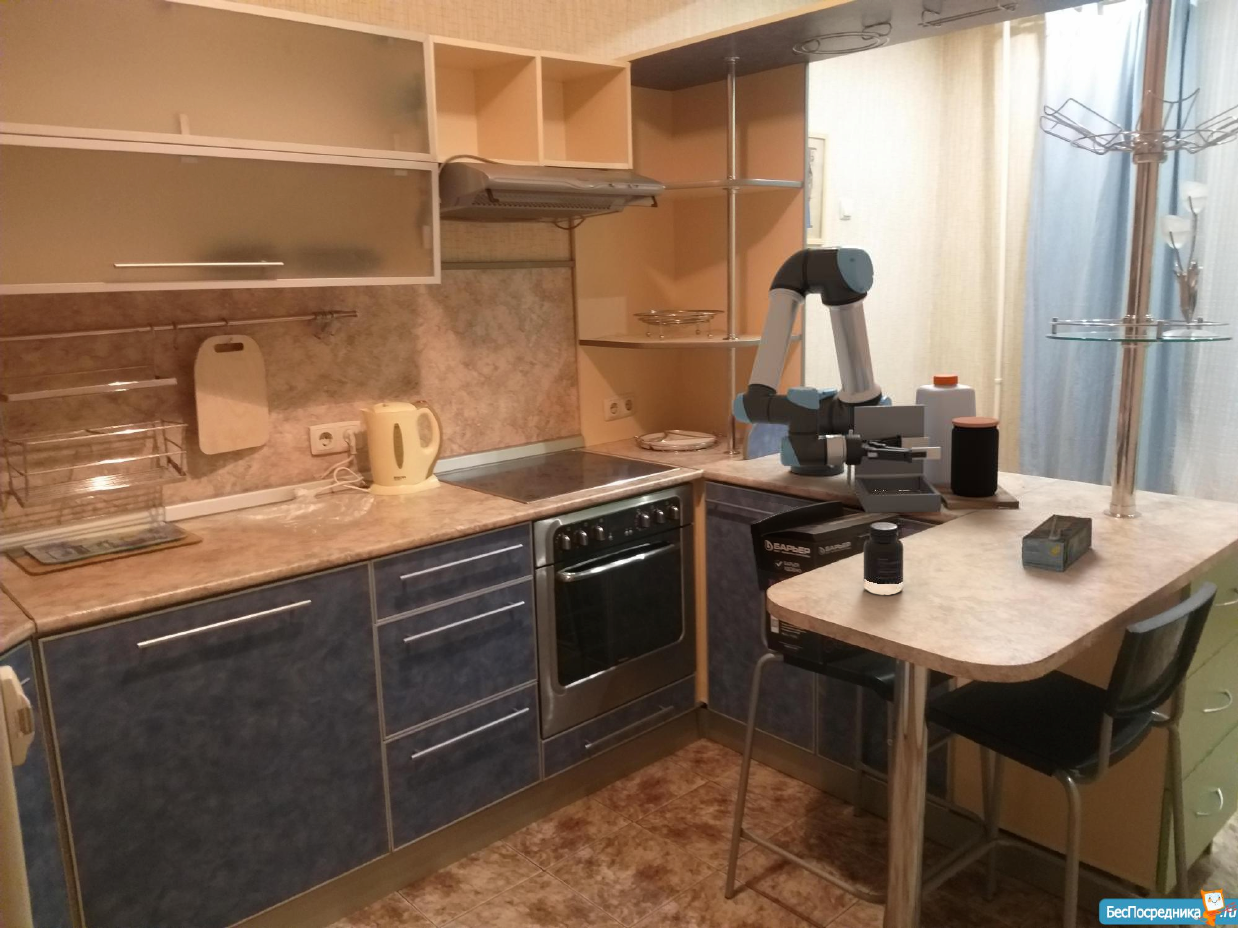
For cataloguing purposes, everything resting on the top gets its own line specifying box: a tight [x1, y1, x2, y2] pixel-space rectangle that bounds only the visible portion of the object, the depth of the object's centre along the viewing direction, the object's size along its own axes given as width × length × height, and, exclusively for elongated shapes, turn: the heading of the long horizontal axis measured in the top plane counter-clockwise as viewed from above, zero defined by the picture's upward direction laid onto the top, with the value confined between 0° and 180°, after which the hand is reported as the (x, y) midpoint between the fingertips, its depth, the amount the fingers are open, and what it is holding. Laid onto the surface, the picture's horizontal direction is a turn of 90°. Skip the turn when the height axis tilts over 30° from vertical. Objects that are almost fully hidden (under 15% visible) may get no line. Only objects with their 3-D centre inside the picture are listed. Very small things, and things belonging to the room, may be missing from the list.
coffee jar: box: [950, 416, 1000, 498], centre depth 225 cm, size 11×11×18 cm
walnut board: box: [934, 484, 1020, 510], centre depth 227 cm, size 18×16×2 cm
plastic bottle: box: [914, 373, 977, 486], centre depth 246 cm, size 15×15×28 cm
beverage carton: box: [1021, 514, 1093, 573], centre depth 181 cm, size 8×19×7 cm, turn 139°
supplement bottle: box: [863, 521, 904, 584], centre depth 166 cm, size 7×7×12 cm
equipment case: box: [846, 404, 942, 513], centre depth 230 cm, size 28×18×22 cm
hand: (934, 447), depth 226 cm, fingers open, 13 cm apart
